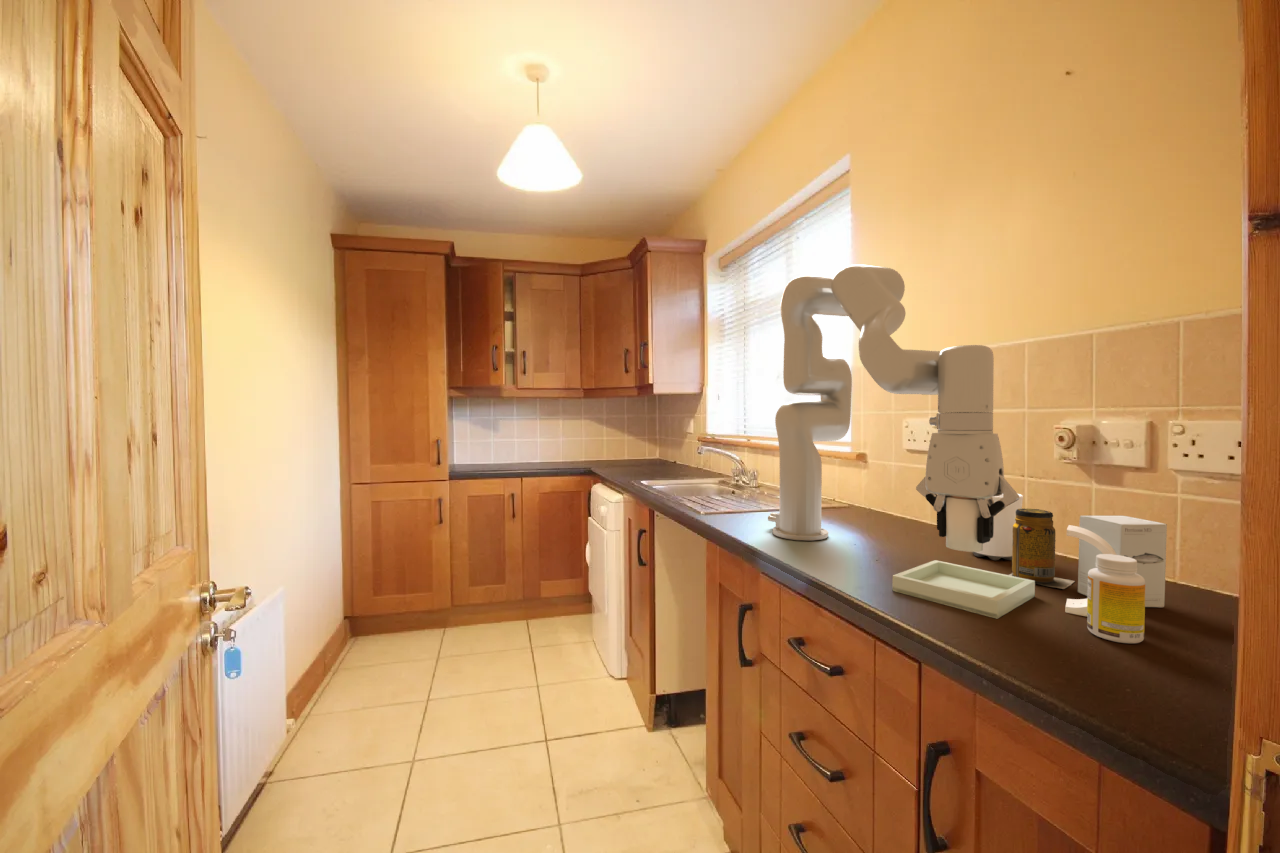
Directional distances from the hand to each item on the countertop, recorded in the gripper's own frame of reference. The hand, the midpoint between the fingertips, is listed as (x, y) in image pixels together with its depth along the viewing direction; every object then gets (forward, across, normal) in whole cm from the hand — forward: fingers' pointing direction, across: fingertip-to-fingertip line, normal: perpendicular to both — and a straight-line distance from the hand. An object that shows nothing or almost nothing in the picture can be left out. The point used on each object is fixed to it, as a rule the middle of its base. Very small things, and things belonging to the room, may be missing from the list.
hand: (964, 537), depth 85 cm
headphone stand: (+9, +15, +6) cm, 18 cm away
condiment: (+9, +5, +18) cm, 21 cm away
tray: (+9, 0, 0) cm, 9 cm away
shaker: (+2, 0, 0) cm, 2 cm away
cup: (+9, -6, +29) cm, 31 cm away
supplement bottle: (+9, +19, -2) cm, 21 cm away
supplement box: (+9, +16, +16) cm, 24 cm away
